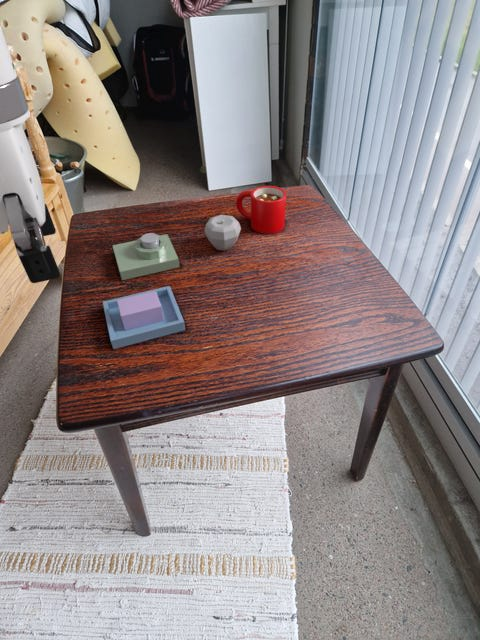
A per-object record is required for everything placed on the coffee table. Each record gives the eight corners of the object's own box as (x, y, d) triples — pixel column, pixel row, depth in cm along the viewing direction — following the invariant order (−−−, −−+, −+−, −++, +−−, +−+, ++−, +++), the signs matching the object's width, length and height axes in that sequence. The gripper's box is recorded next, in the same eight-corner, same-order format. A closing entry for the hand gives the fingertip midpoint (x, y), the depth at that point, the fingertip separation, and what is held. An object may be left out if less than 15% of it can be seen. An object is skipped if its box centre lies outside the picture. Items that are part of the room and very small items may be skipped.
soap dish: (113, 349, 71) (110, 341, 70) (105, 310, 78) (102, 301, 77) (185, 330, 74) (184, 321, 73) (171, 293, 81) (169, 285, 80)
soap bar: (125, 330, 73) (120, 316, 71) (120, 314, 76) (116, 299, 74) (164, 320, 75) (161, 306, 73) (158, 305, 78) (155, 290, 76)
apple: (204, 237, 95) (202, 211, 91) (239, 234, 96) (238, 208, 91) (206, 258, 90) (204, 231, 85) (243, 255, 90) (243, 228, 86)
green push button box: (121, 280, 85) (117, 264, 82) (114, 253, 91) (110, 238, 89) (179, 267, 87) (177, 251, 85) (168, 242, 94) (166, 226, 91)
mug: (242, 210, 104) (241, 180, 98) (288, 219, 100) (290, 188, 95) (229, 226, 99) (228, 195, 93) (277, 236, 95) (279, 204, 90)
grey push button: (143, 251, 86) (142, 244, 84) (140, 242, 88) (138, 234, 87) (161, 247, 86) (159, 240, 85) (157, 238, 89) (156, 231, 88)
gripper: (-51, 83, 44) (13, 226, 56) (-79, 143, 32) (10, 308, 44) (25, 75, 46) (71, 215, 58) (25, 129, 34) (83, 291, 46)
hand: (44, 255), depth 51 cm, fingers open, 9 cm apart
